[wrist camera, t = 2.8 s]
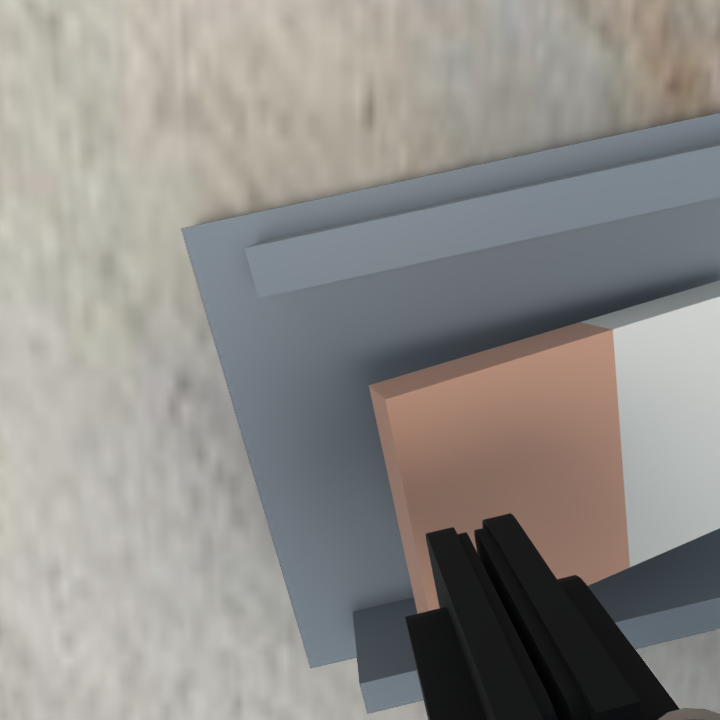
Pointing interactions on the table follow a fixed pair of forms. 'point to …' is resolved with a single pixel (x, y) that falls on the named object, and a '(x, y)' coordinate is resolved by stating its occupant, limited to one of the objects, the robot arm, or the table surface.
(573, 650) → the robot arm
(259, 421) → the grey piece
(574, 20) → the table surface
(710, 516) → the two-tone peach white tile
